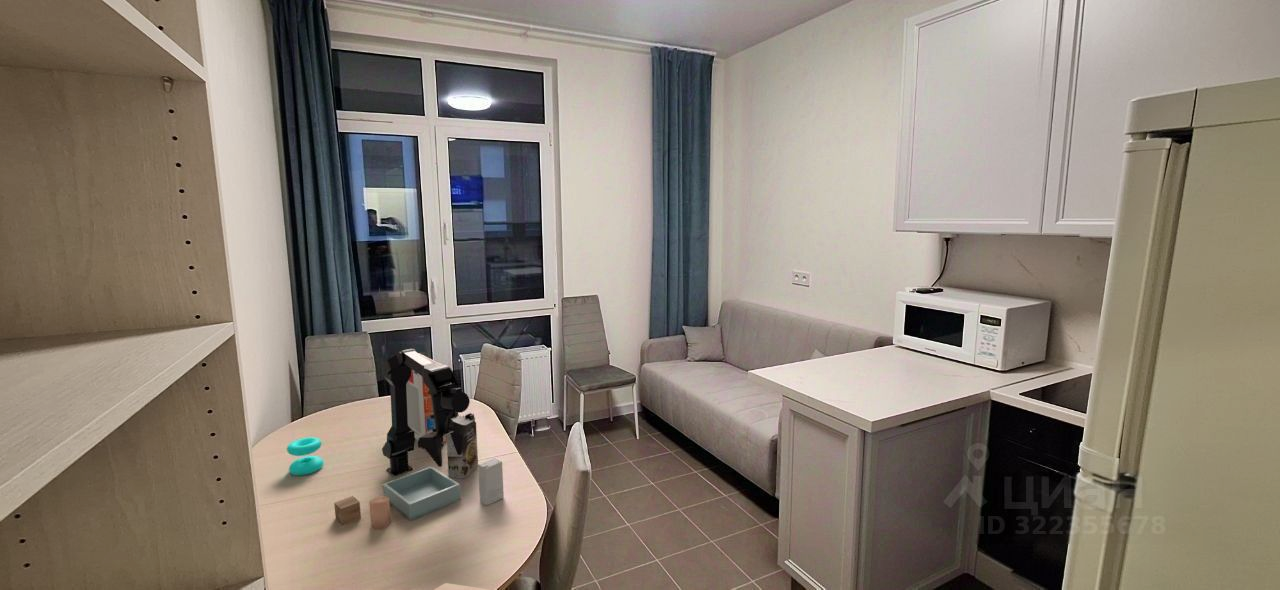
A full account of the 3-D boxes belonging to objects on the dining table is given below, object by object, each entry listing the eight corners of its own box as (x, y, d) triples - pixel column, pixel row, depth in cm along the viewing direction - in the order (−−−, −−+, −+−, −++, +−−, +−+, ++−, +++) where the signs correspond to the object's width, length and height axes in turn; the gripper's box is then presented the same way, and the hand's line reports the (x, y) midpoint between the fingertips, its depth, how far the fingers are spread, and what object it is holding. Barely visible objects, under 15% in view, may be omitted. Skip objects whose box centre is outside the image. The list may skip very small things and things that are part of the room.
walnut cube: (335, 518, 156) (334, 502, 155) (354, 511, 159) (352, 495, 158) (342, 525, 152) (340, 508, 151) (360, 518, 156) (359, 501, 155)
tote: (383, 499, 166) (382, 484, 165) (432, 480, 177) (431, 466, 176) (410, 521, 154) (409, 504, 153) (460, 499, 166) (459, 484, 165)
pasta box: (447, 440, 208) (443, 364, 204) (426, 447, 203) (421, 369, 198) (424, 423, 225) (419, 353, 220) (404, 429, 219) (399, 356, 215)
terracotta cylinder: (368, 524, 153) (366, 501, 151) (386, 517, 156) (384, 494, 155) (375, 531, 149) (373, 507, 148) (393, 523, 153) (392, 500, 152)
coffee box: (465, 478, 178) (463, 432, 176) (447, 477, 180) (445, 430, 177) (479, 466, 187) (476, 421, 185) (462, 464, 189) (459, 420, 186)
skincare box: (495, 493, 169) (494, 456, 167) (504, 498, 166) (503, 461, 164) (478, 501, 164) (476, 463, 163) (487, 506, 162) (485, 468, 160)
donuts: (282, 442, 183) (315, 433, 190) (285, 470, 185) (318, 460, 192) (291, 451, 176) (325, 441, 184) (294, 479, 178) (327, 469, 185)
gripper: (445, 418, 150) (453, 473, 151) (484, 399, 167) (491, 449, 168) (412, 419, 153) (420, 473, 154) (454, 400, 171) (460, 449, 172)
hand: (450, 460), depth 162 cm, fingers open, 9 cm apart
